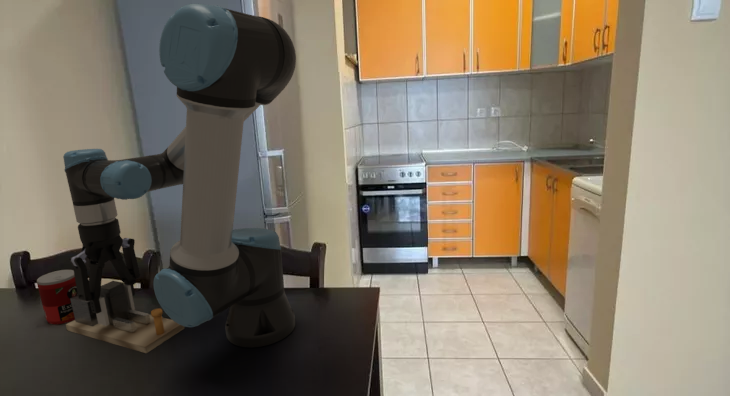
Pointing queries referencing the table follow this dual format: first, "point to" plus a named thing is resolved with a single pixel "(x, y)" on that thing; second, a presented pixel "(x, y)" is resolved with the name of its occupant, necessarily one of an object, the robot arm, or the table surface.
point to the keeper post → (158, 320)
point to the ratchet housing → (83, 312)
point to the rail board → (129, 334)
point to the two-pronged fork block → (121, 307)
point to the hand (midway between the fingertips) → (117, 316)
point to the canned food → (57, 295)
